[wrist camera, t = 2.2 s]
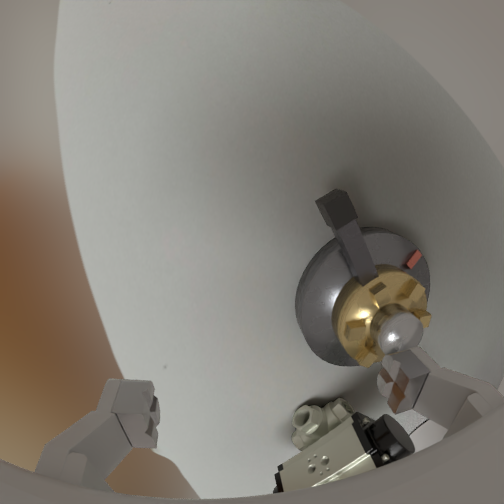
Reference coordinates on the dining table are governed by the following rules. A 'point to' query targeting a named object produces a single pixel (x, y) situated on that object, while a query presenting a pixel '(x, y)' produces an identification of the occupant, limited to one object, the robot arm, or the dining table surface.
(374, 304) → the lever handle valve
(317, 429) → the ball valve
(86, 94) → the dining table surface
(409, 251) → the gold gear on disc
